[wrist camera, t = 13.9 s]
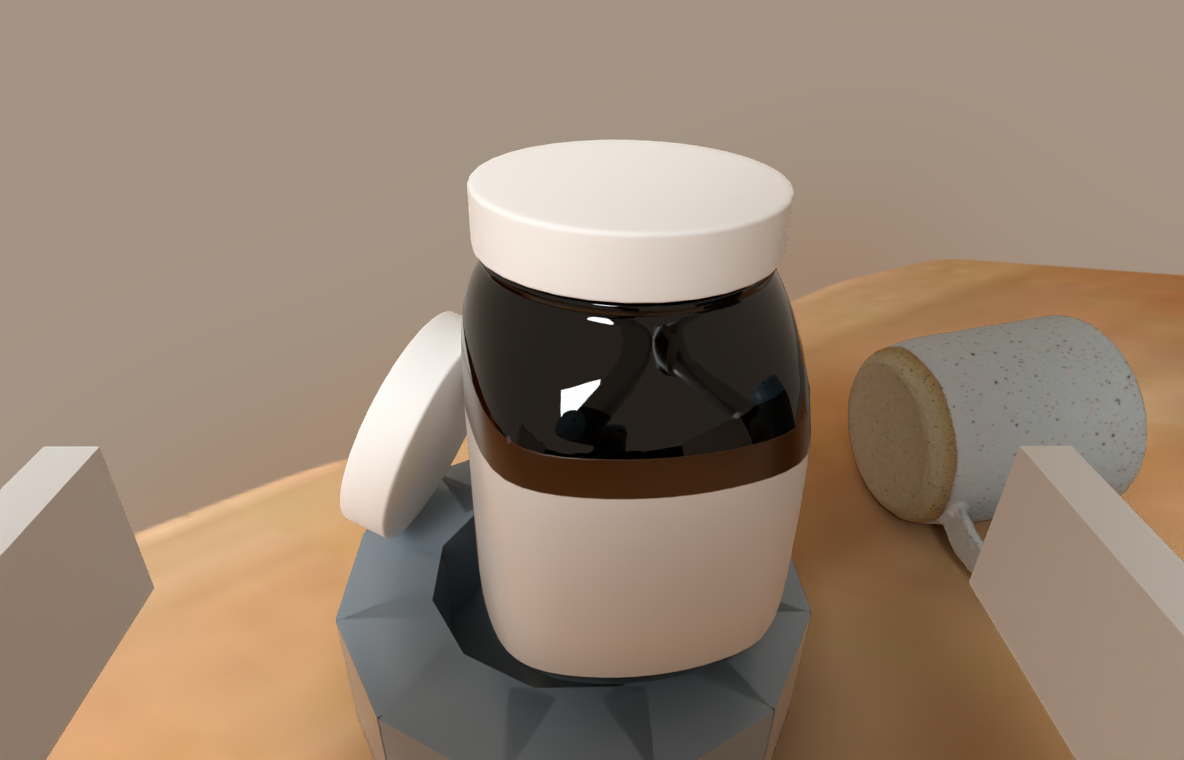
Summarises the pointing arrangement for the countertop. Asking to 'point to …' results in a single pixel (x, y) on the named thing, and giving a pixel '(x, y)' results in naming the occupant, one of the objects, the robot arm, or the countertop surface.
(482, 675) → the slate bowl
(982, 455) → the ceramic mug
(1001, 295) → the countertop surface
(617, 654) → the spread jar
